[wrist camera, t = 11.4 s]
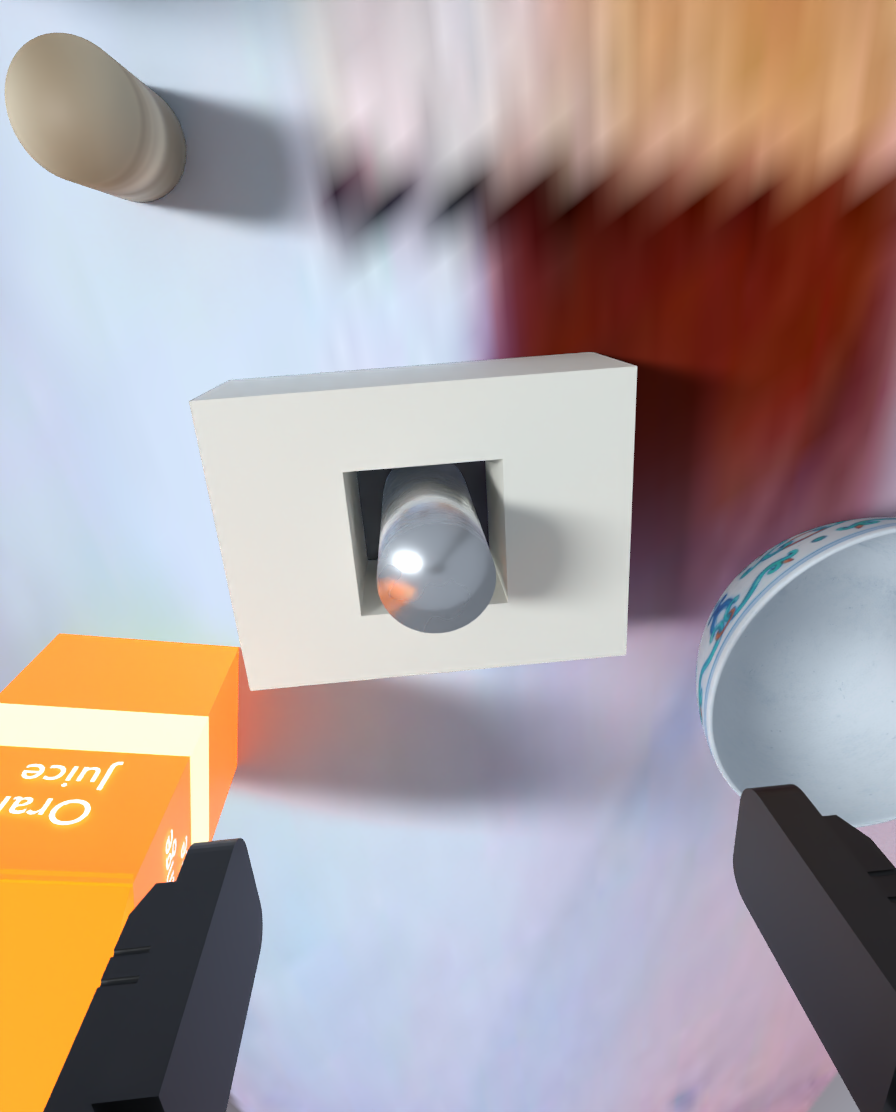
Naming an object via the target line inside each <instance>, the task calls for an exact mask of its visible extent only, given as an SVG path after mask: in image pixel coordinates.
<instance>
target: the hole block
mask: <svg viewBox="0 0 896 1112" xmlns="http://www.w3.org/2000/svg"><path fill="white" fill-rule="evenodd" d="M636 387H637V366H635V365H632V364H629V363H626V362H623V361H619V360H616V359H613V358H610V357H607V356H604V355H600V354H597V353H594V352H585V353H572V354H559V355H546V356H533V357H520V358H507V359H494V360H481V361H468V362H455V363H442V364H429V365H417V366H404V367H391V368H378V369H365V370H352V371H339V372H326V373H313V374H300V375H287V376H274V377H261V378H248V379H235V380H228V381H226V382H225V383H223V384H221V385H219V386H217V387H215V388H213V389H211V390H209V391H207V392H205V393H204V394H202V395H200V396H198V397H196V398H194V399H192V400H190V401H189V404H190V408H191V413H192V418H193V423H194V427H195V432H196V437H197V442H198V446H199V451H200V456H201V460H202V465H203V470H204V475H205V479H206V484H207V489H208V494H209V498H210V503H211V508H212V512H213V517H214V522H215V527H216V531H217V536H218V541H219V546H220V550H221V555H222V560H223V564H224V569H225V574H226V579H227V583H228V588H229V593H230V598H231V602H232V607H233V612H234V616H235V621H236V626H237V631H238V635H239V640H240V645H241V650H242V654H243V659H244V664H245V668H246V673H247V678H248V683H249V687H250V691H255V690H265V689H276V688H286V687H296V686H307V685H317V684H328V683H338V682H349V681H359V680H370V679H380V678H391V677H401V676H412V675H422V674H433V673H443V672H453V671H464V670H474V669H485V668H495V667H506V666H516V665H527V664H537V663H548V662H558V661H569V660H579V659H590V658H600V657H610V656H621V655H626V644H627V618H628V592H629V567H630V541H631V516H632V490H633V464H634V439H635V413H636ZM473 461H485V467H486V488H487V509H488V530H489V550H490V552H491V555H492V558H493V561H494V565H495V569H496V585H495V590H494V593H493V596H492V598H491V601H490V603H489V604H488V606H487V607H486V609H485V610H484V611H483V612H482V614H481V615H480V616H478V617H477V618H476V619H475V620H474V621H472V622H471V623H470V624H468V625H466V626H464V627H462V628H460V629H457V630H454V631H450V632H445V633H424V632H419V631H416V630H413V629H410V628H408V627H406V626H404V625H403V624H401V623H399V622H398V621H397V620H396V619H394V618H393V617H392V616H391V615H390V614H389V612H388V611H387V610H386V608H385V607H384V605H383V603H382V601H381V599H380V597H379V594H378V589H377V566H378V560H368V559H367V551H366V543H365V535H364V527H363V518H362V510H361V502H360V494H359V486H358V478H357V471H365V470H377V469H389V468H401V467H413V466H425V465H437V464H449V463H461V462H473Z"/></svg>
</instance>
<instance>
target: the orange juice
mask: <svg viewBox="0 0 896 1112" xmlns="http://www.w3.org/2000/svg"><path fill="white" fill-rule="evenodd" d="M238 674H239V647H229V646H216V645H203V644H190V643H176V642H163V641H150V640H137V639H124V638H111V637H98V636H85V635H72V634H58V635H57V636H56V638H55V639H54V640H53V641H52V642H51V643H50V644H49V645H48V646H47V647H46V648H45V649H44V650H43V651H42V652H41V653H40V654H39V655H38V656H37V657H36V658H35V659H34V660H33V661H32V662H31V663H30V664H29V665H28V666H27V667H26V668H25V669H24V670H23V671H22V672H21V673H20V674H19V675H18V676H17V677H16V678H15V679H14V680H13V681H12V682H11V683H10V684H9V685H8V686H7V687H6V688H5V689H4V690H3V691H2V692H1V693H0V1112H43V1110H44V1108H45V1106H46V1104H47V1102H48V1099H49V1097H50V1095H51V1093H52V1090H53V1088H54V1086H55V1083H56V1081H57V1079H58V1076H59V1074H60V1072H61V1070H62V1067H63V1065H64V1063H65V1060H66V1058H67V1056H68V1054H69V1051H70V1049H71V1047H72V1044H73V1042H74V1040H75V1037H76V1035H77V1033H78V1031H79V1028H80V1026H81V1024H82V1021H83V1019H84V1017H85V1015H86V1012H87V1010H88V1008H89V1005H90V1003H91V1001H92V999H93V996H94V994H95V992H96V989H97V987H100V985H101V978H102V976H103V973H104V971H105V969H106V966H107V964H108V962H109V960H110V957H113V955H114V948H115V946H116V943H117V941H118V939H119V937H120V934H121V932H122V930H123V927H124V925H125V923H126V921H127V918H128V916H129V914H130V913H131V912H132V911H133V909H134V908H135V907H136V906H137V905H138V904H139V902H140V901H141V900H142V899H143V898H144V897H145V895H146V894H147V893H148V892H149V891H150V890H151V888H152V887H153V886H154V885H155V884H156V883H164V882H174V881H176V880H177V877H178V874H179V872H180V869H181V866H182V864H183V861H184V859H185V856H186V853H187V851H188V849H189V847H190V846H191V845H192V844H193V843H199V842H208V841H212V838H213V835H214V832H215V829H216V826H217V823H218V821H219V818H220V815H221V812H222V809H223V806H224V803H225V800H226V797H227V794H228V791H229V788H230V785H231V782H232V779H233V776H234V773H235V771H236V768H237V736H238Z"/></svg>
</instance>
